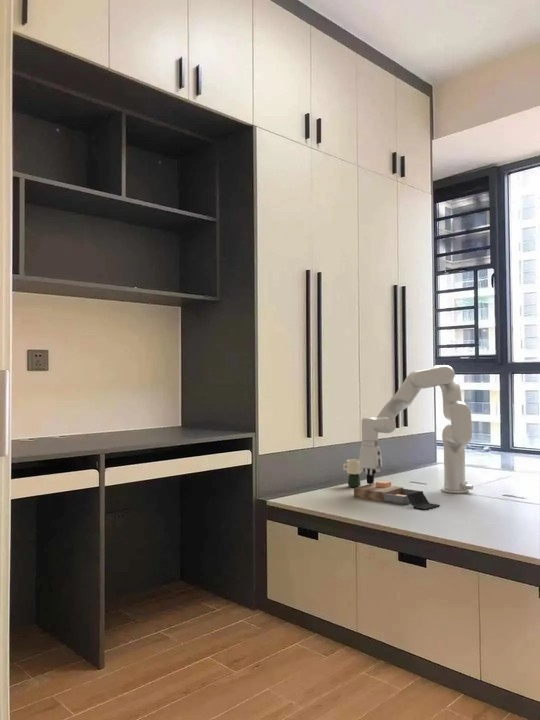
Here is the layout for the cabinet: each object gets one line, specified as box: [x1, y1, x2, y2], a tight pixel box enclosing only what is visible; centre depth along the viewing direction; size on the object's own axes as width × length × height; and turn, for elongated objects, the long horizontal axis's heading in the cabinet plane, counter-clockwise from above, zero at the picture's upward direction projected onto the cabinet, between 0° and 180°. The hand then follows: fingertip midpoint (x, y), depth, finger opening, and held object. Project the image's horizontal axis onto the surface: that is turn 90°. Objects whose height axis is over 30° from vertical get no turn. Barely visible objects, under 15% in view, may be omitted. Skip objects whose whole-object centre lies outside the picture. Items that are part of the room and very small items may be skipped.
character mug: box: [342, 458, 364, 488], centre depth 305 cm, size 11×7×13 cm, turn 71°
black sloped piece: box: [407, 490, 441, 511], centre depth 259 cm, size 12×7×10 cm
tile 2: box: [375, 480, 392, 488], centre depth 284 cm, size 5×5×2 cm
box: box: [383, 487, 424, 506], centre depth 272 cm, size 10×16×4 cm, turn 137°
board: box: [353, 482, 404, 502], centre depth 281 cm, size 16×16×4 cm
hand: (370, 483), depth 289 cm, fingers closed
